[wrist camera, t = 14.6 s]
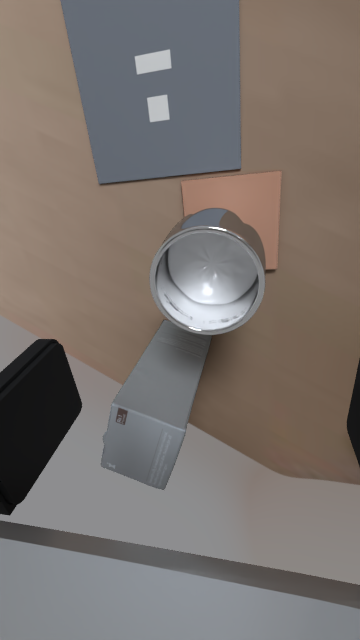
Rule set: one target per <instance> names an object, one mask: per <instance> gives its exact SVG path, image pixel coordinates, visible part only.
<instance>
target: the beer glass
mask: <svg viewBox="0 0 360 640" xmlns="http://www.w3.org/2000/svg"><path fill="white" fill-rule="evenodd" d="M265 275H266V255H265V249H264V245H263V241H262V238H261V236H260V233H259V231H258V230H257V228H256V227H255V220H254V216H253V213H252V211H251V209H250V208H249V207H248V205H247V204H246V203H245V202H243V201H242V200H240V199H239V198H236V197H234V196H229V195H220V196H216V197H213V198H211V199H209V200H207V201H206V202H205V203H203V204H202V205H201V207H200V208H199V209H198V210H195V211H193V212H191V213H190V214H188V215H187V216H185V217H184V218H183V219H182V220H180V221H179V222H178V223H177V224H176V225H175V226H174V228H173V229H172V230H171V231H170V233H169V234H168V235H167V237H166V238H165V240H164V242H163V243H162V245H161V247H160V248H159V249H158V251H157V253H156V254H155V256H154V259H153V261H152V264H151V268H150V277H149V280H150V289H151V293H152V296H153V299H154V301H155V303H156V305H157V306H158V308H159V309H160V311H161V312H162V313H163V314H164V316H165V317H166V318H167V319H169V320H170V321H171V322H172V323H174V324H175V325H177V326H178V327H180V328H182V329H184V330H187V331H189V332H193V333H197V334H203V335H215V334H222V333H226V332H229V331H232V330H234V329H236V328H238V327H240V326H241V325H243V324H244V323H246V322H247V321H248V320H249V319H250V318H251V317H252V316H253V315H254V313H255V312H256V311H257V309H258V307H259V306H260V304H261V301H262V299H263V295H264V291H265Z"/></svg>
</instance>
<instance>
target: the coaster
mask: <svg viewBox="0 0 360 640" xmlns="http://www.w3.org/2000/svg"><path fill="white" fill-rule="evenodd" d="M181 184H182V195H183V205H184V216H187V215H188V214H190V213H191V212H193V211H195V210H198V209H199V208H200V207H201V205H202V204H203V203H205V202H206V201H207V200H209V199H211V198H213V197H216V196H220V195H229V196H234V197H236V198H239V199H240V200H242V201H243V202H245V203H246V204H247V205H248V207H249V208H250V209H251V211H252V213H253V216H254V220H255V227H256V228H257V230H258V231H259V233H260V236H261V238H262V241H263V245H264V249H265V255H266V269H277V259H278V237H279V214H280V192H281V171H271V172H261V173H252V174H242V175H232V176H222V177H212V178H203V179H193V180H183V181H181Z"/></svg>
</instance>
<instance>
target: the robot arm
mask: <svg viewBox="0 0 360 640" xmlns="http://www.w3.org/2000/svg"><path fill="white" fill-rule="evenodd" d="M81 408H82V402H81V399H80V396H79V393H78V390H77V387H76V384H75V381H74V378H73V375H72V372H71V369H70V366H69V364H68V360H67V357H66V355H65V351H64V348H63V346H62V345H61V344H59V343H58V341H57V340H55V339H38V340H36V341H35V342H34V343H33V344H32V345H31V346H30V347H28V348H27V349H26V350H25V351H24V352H23V353H22V354H21V355H19V356H18V357H17V358H16V359H15V360H14V361H13V362H12V363H10V365H8V366H7V367H6V368H5V369H4V370H3V371H1V372H0V514H4V515H10V514H11V513H12V511H13V510H14V509H15V507H16V505H17V504H19V503H21V502H22V501H23V500H24V499H25V497H26V496H27V494H28V492H29V491H30V489H31V488H32V486H33V485H34V483H35V481H36V480H37V479H38V477H39V475H40V474H41V472H42V471H43V469H44V468H45V466H46V465H47V463H48V461H49V460H50V458H51V457H52V455H53V454H54V452H55V451H56V449H57V447H58V446H59V444H60V443H61V441H62V440H63V438H64V437H65V435H66V434H67V432H68V430H69V429H70V427H71V426H72V424H73V423H74V421H75V420H76V418H77V417H78V415H79V413H80V411H81ZM347 430H348V434H349V437H350V440H351V443H352V446H353V449H354V452H355V454H356V457H357V460H358V463H359V466H360V360H359V365H358V369H357V374H356V379H355V384H354V389H353V394H352V398H351V403H350V408H349V413H348V418H347ZM0 640H360V585H357V584H352V583H347V582H341V581H337V580H332V579H326V578H321V577H316V576H311V575H306V574H301V573H296V572H290V571H284V570H279V569H273V568H267V567H262V566H257V565H251V564H246V563H240V562H234V561H229V560H223V559H218V558H212V557H207V556H201V555H195V554H190V553H184V552H179V551H173V550H168V549H162V548H156V547H151V546H145V545H139V544H133V543H127V542H122V541H116V540H110V539H104V538H99V537H93V536H88V535H82V534H76V533H70V532H65V531H59V530H53V529H47V528H41V527H35V526H29V525H23V524H17V523H11V522H5V521H0Z"/></svg>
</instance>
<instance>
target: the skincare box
mask: <svg viewBox="0 0 360 640" xmlns="http://www.w3.org/2000/svg"><path fill="white" fill-rule="evenodd" d="M211 339H212V336H211V335H203V334H197V333H193V332H189V331H187V330H184V329H182V328H180V327H178V326H177V325H175V324H174V323H172V322H170V321H167V320H163V322H162V324H161V326H160V327H159V329H158V331H157V332H156V334H155V336H154V337H153V339H152V340H151V342H150V343H149V345H148V347H147V348H146V350H145V351H144V353H143V355H142V356H141V358H140V359H139V361H138V363H137V364H136V366H135V367H134V369H133V370H132V372H131V374H130V375H129V377H128V378H127V380H126V381H125V383H124V385H123V386H122V388H121V389H120V391H119V392H118V394H117V396H116V397H115V399H114V401H113V402H112V404H111V411H110V416H109V422H108V428H107V432H105V434H104V435H103V442H104V449H103V455H102V460H101V466H102V467H103V468H106V469H109V470H111V471H114V472H117V473H119V474H122V475H124V476H127V477H130V478H132V479H134V480H137V481H139V482H142V483H144V484H146V485H149V486H152V487H155V488H158V489H162V490H164V489H165V487H166V485H167V482H168V480H169V477H170V475H171V472H172V470H173V467H174V465H175V462H176V459H177V456H178V454H179V451H180V448H181V445H182V442H183V439H184V436H185V433H186V428H187V424H188V420H189V416H190V412H191V409H192V405H193V401H194V398H195V394H196V391H197V387H198V384H199V380H200V377H201V373H202V370H203V367H204V363H205V360H206V356H207V353H208V349H209V346H210V342H211Z"/></svg>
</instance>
